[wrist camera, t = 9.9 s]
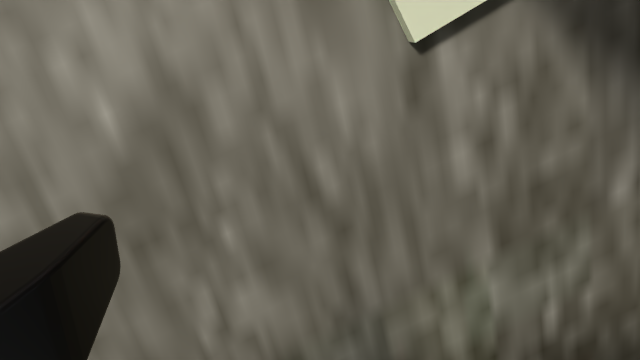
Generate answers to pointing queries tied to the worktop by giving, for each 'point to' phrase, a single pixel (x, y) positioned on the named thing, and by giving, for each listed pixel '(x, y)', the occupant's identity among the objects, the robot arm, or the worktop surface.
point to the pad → (428, 15)
